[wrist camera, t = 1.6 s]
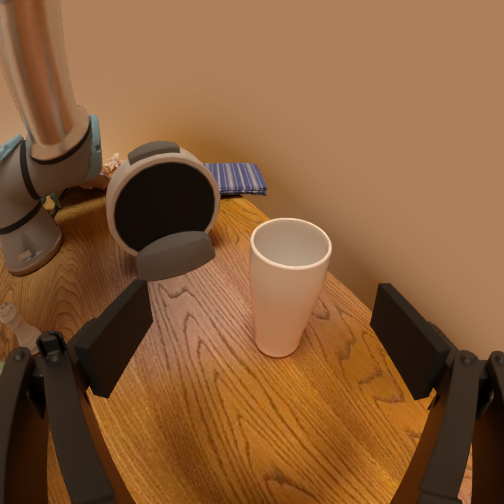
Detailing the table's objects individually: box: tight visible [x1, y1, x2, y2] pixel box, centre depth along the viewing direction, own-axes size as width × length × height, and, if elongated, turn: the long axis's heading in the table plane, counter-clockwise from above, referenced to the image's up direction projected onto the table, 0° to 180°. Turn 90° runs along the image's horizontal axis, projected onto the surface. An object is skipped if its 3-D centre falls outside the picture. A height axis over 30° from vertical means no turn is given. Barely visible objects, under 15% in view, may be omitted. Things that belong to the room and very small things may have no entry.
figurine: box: [105, 153, 119, 171], centre depth 72 cm, size 5×12×7 cm
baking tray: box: [72, 166, 111, 190], centre depth 59 cm, size 30×22×5 cm
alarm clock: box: [106, 141, 220, 281], centre depth 37 cm, size 16×10×18 cm, turn 118°
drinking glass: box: [249, 218, 332, 357], centre depth 27 cm, size 7×7×15 cm
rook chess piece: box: [0, 301, 42, 355], centre depth 25 cm, size 4×4×8 cm
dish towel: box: [203, 163, 267, 196], centre depth 62 cm, size 17×24×3 cm
